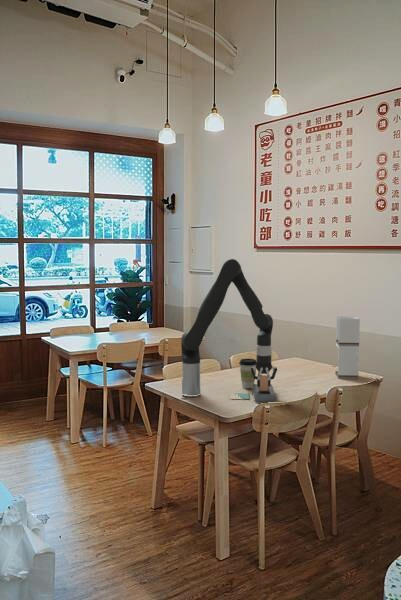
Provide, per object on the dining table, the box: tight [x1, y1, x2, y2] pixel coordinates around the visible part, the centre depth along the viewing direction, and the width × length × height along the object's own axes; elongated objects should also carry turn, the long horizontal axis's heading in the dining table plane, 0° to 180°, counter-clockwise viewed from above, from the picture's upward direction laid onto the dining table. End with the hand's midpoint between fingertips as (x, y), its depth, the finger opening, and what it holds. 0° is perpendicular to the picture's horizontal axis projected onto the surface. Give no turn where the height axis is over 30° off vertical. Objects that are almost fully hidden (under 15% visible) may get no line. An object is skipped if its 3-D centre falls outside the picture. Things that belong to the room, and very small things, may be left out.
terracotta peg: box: [260, 374, 268, 391], centre depth 271 cm, size 4×4×11 cm
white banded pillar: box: [334, 315, 361, 380], centre depth 312 cm, size 11×11×35 cm
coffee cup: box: [238, 358, 257, 389], centre depth 290 cm, size 10×10×15 cm
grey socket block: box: [252, 383, 277, 403], centre depth 271 cm, size 10×20×4 cm, turn 178°
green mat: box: [234, 392, 250, 400], centre depth 272 cm, size 10×10×1 cm
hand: (263, 386), depth 271 cm, fingers closed on terracotta peg, 4 cm apart
